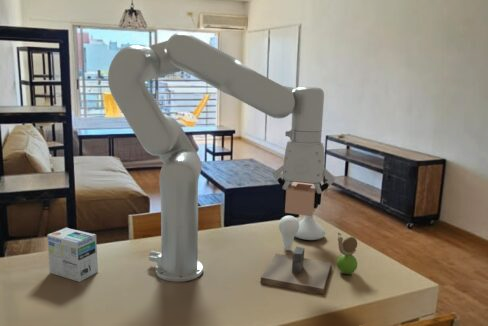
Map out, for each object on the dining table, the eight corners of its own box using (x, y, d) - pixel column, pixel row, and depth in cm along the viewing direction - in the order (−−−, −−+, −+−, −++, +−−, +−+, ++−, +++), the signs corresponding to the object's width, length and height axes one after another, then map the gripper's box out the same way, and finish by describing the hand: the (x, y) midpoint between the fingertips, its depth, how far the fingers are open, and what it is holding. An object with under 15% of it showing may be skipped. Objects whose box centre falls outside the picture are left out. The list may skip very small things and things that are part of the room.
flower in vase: (331, 237, 145) (337, 163, 140) (311, 246, 137) (317, 168, 132) (299, 226, 154) (304, 157, 149) (279, 234, 146) (283, 161, 141)
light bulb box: (98, 272, 115) (97, 233, 113) (79, 283, 109) (77, 242, 107) (68, 263, 119) (66, 226, 117) (48, 273, 113) (46, 234, 111)
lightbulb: (298, 254, 130) (300, 219, 128) (278, 254, 130) (279, 219, 128) (296, 246, 136) (298, 213, 134) (276, 245, 136) (278, 212, 134)
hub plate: (260, 282, 112) (261, 257, 111) (275, 258, 127) (276, 235, 126) (322, 294, 108) (325, 268, 106) (330, 267, 123) (332, 244, 121)
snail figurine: (329, 270, 121) (332, 229, 118) (348, 267, 123) (352, 226, 121) (341, 279, 116) (344, 236, 113) (360, 275, 118) (364, 233, 116)
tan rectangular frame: (284, 212, 111) (286, 189, 109) (292, 203, 119) (293, 181, 117) (311, 216, 109) (313, 192, 107) (317, 206, 117) (318, 184, 115)
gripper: (268, 136, 109) (265, 205, 112) (339, 142, 103) (333, 213, 107) (276, 132, 116) (272, 197, 119) (342, 137, 110) (337, 205, 114)
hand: (301, 204), depth 113 cm, fingers closed on tan rectangular frame, 6 cm apart
